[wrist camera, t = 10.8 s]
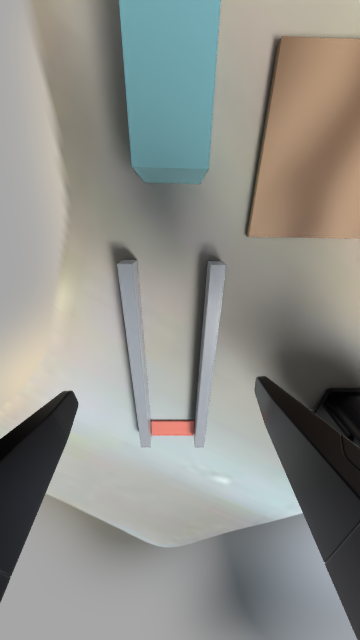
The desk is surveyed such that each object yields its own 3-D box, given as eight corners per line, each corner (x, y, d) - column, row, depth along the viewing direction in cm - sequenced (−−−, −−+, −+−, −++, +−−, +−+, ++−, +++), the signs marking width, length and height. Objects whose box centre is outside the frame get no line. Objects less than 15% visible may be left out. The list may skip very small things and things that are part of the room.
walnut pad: (450, 49, 11) (461, 42, 11) (368, 238, 16) (374, 238, 15) (277, 43, 11) (282, 36, 10) (246, 235, 15) (248, 236, 15)
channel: (221, 261, 16) (226, 265, 15) (202, 434, 27) (203, 447, 26) (123, 259, 16) (116, 263, 15) (143, 434, 27) (141, 447, 26)
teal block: (208, 33, 11) (226, -79, 7) (199, 184, 14) (208, 169, 10) (137, 30, 11) (112, -85, 7) (144, 182, 14) (131, 166, 10)
